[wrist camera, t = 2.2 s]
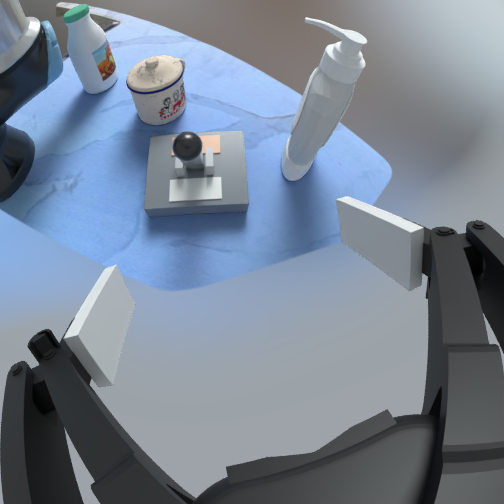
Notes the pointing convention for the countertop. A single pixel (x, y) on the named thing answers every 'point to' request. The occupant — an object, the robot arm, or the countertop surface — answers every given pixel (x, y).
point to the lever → (189, 150)
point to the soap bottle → (323, 100)
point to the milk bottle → (89, 51)
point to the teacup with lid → (158, 89)
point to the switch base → (197, 177)
